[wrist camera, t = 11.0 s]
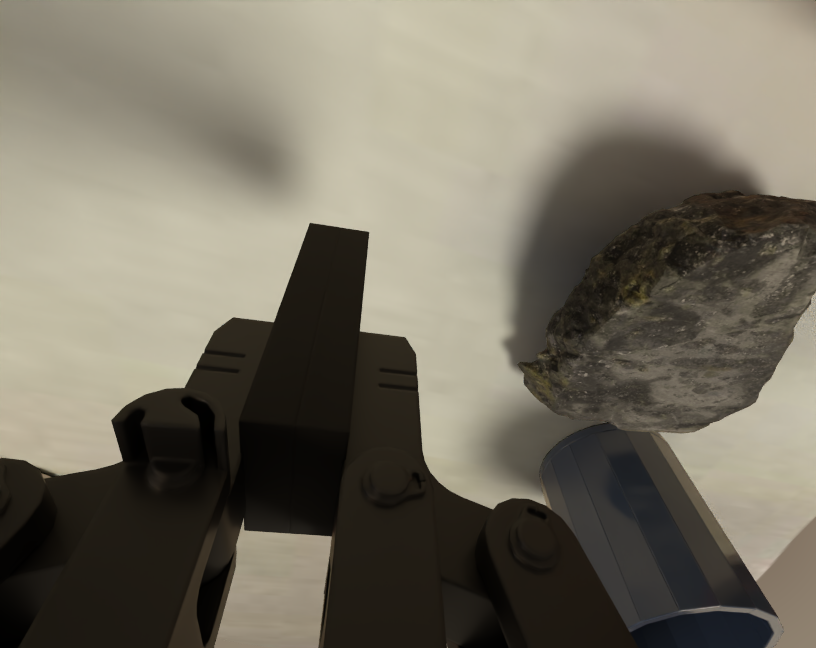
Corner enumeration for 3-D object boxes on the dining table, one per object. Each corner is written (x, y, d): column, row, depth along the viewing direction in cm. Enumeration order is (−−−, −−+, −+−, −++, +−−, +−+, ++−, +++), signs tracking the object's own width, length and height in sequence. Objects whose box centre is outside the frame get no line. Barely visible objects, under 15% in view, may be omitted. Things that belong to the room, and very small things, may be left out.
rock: (504, 378, 22) (539, 485, 17) (598, 141, 16) (694, 205, 11) (674, 395, 23) (750, 498, 18) (824, 181, 17) (1000, 254, 12)
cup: (567, 414, 23) (647, 600, 16) (693, 430, 24) (824, 613, 17) (522, 498, 27) (568, 678, 20) (631, 509, 28) (715, 686, 21)
